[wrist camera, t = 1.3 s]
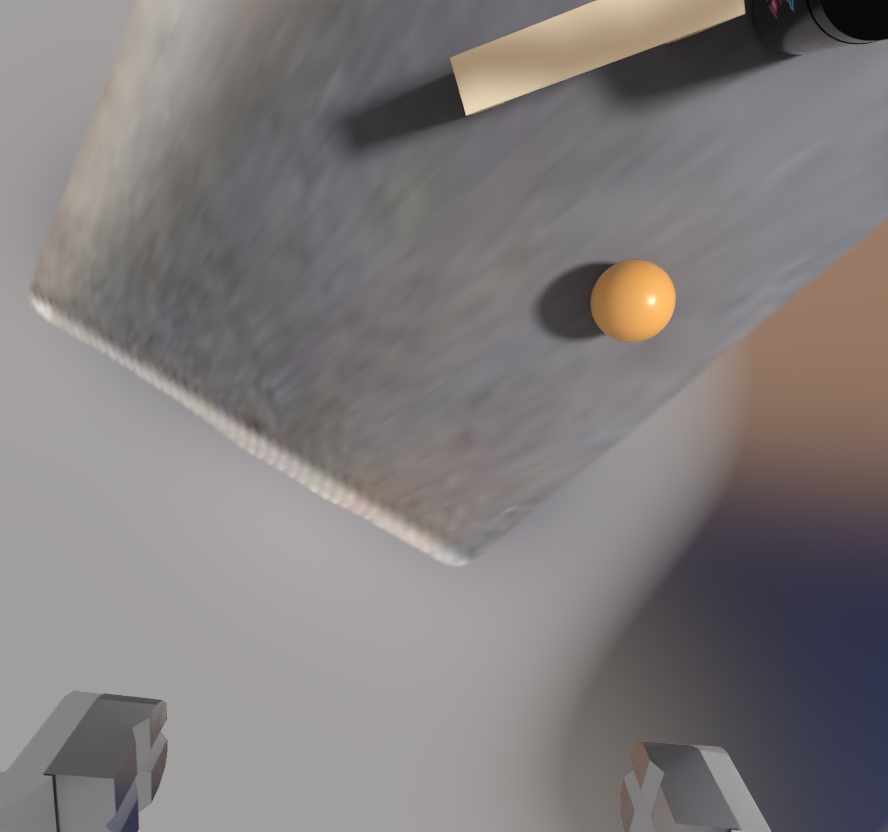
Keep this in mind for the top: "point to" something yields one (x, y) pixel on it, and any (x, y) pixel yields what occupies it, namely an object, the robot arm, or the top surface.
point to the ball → (633, 300)
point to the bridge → (578, 45)
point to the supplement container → (819, 23)
